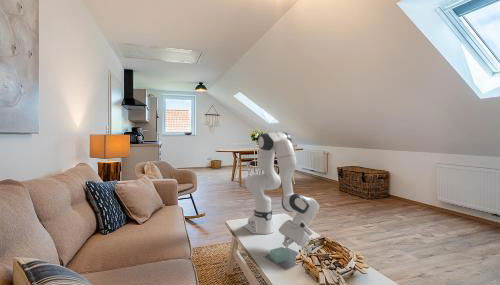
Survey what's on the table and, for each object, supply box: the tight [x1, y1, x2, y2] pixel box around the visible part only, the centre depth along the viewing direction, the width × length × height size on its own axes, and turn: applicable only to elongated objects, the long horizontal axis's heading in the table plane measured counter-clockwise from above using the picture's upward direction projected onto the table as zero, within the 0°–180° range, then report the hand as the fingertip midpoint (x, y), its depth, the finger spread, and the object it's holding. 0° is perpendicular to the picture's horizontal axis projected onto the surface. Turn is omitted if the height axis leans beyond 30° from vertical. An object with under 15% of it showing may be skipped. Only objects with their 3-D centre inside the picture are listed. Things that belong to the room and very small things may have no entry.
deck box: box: [269, 246, 290, 263], centre depth 129 cm, size 6×4×8 cm
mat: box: [263, 246, 299, 271], centre depth 130 cm, size 17×18×1 cm
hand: (284, 245), depth 130 cm, fingers closed
